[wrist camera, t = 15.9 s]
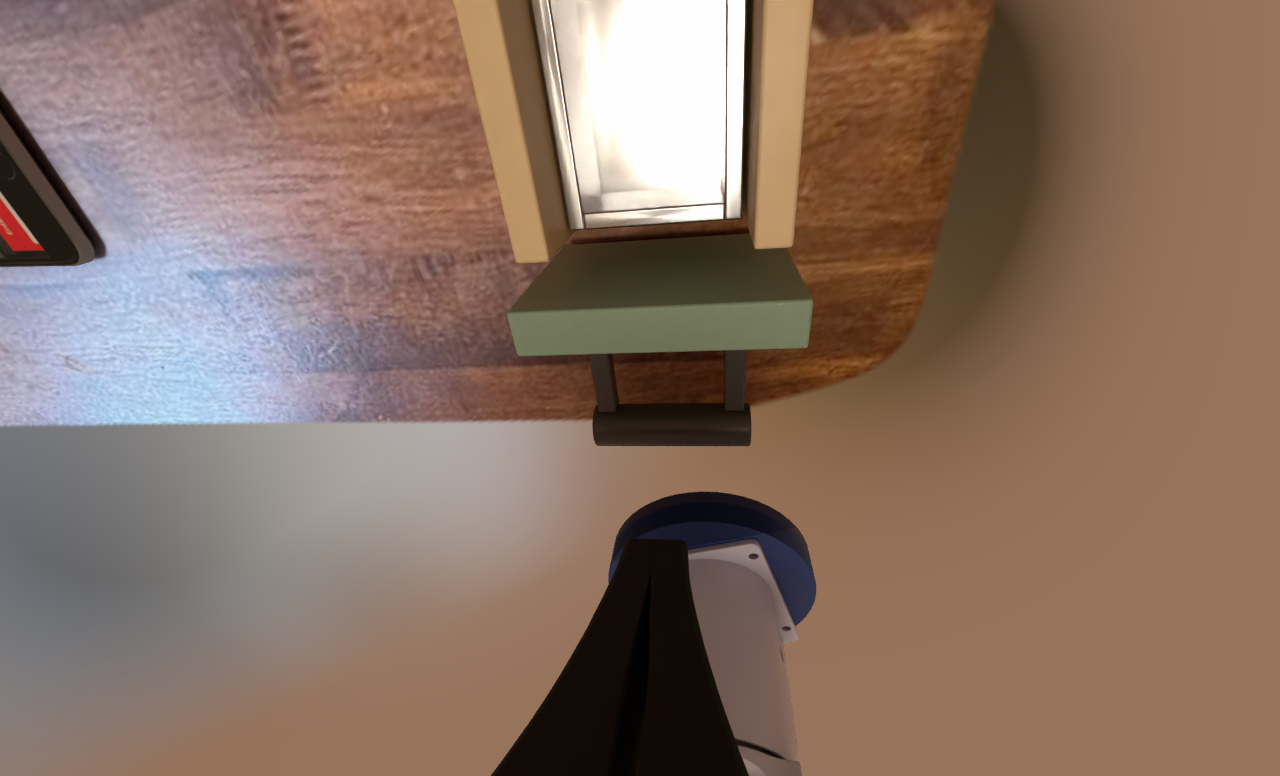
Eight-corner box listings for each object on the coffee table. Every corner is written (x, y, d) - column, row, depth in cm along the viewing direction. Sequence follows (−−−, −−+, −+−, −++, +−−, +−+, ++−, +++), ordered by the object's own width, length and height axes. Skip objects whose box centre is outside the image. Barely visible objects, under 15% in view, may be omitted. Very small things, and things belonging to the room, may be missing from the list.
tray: (741, -206, 9) (754, -305, 7) (735, 195, 13) (742, 219, 11) (539, -165, 10) (487, -243, 7) (592, 206, 14) (569, 231, 12)
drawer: (768, 388, 18) (792, 496, 13) (590, 390, 19) (553, 492, 14) (816, -335, 9) (940, -798, 4) (473, -254, 10) (269, -554, 5)
